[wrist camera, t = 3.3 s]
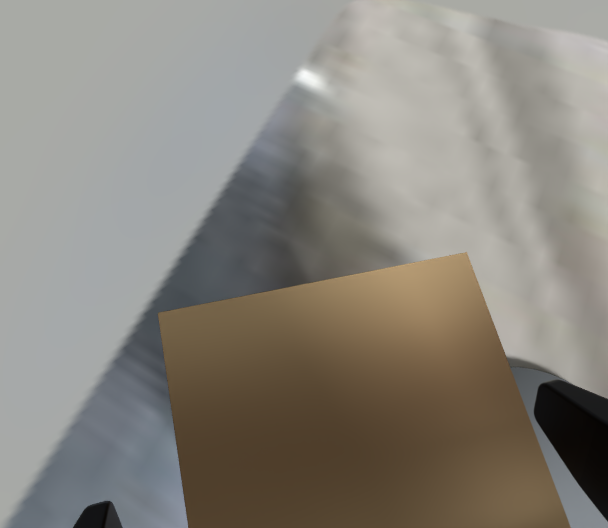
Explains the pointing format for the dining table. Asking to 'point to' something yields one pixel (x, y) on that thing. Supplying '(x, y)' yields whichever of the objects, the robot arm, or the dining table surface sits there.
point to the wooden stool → (354, 407)
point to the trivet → (557, 457)
